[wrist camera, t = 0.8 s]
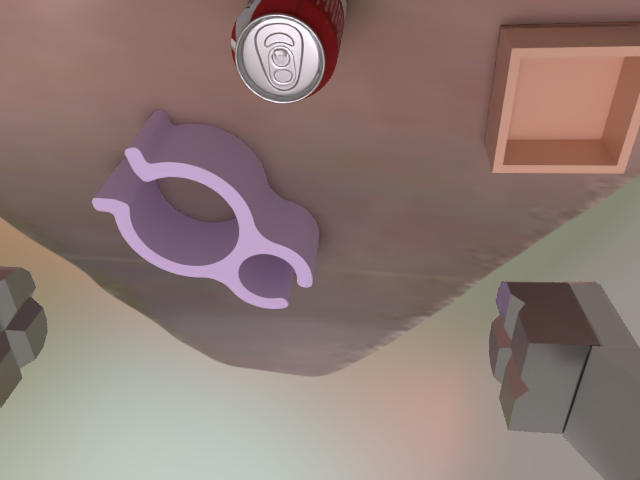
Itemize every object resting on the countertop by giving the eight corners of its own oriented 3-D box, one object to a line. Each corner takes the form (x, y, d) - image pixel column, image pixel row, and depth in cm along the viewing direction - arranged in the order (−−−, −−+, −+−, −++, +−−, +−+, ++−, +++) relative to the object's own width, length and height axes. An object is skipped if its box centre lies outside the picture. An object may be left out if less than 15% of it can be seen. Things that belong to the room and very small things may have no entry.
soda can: (345, -48, 41) (332, -1, 31) (349, 45, 45) (338, 111, 35) (254, -43, 42) (214, 5, 32) (266, 48, 46) (234, 114, 36)
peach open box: (500, 25, 43) (512, 48, 39) (639, 22, 42) (665, 45, 38) (484, 142, 49) (492, 172, 45) (604, 142, 48) (624, 173, 44)
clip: (345, 214, 55) (340, 260, 50) (272, 282, 62) (261, 328, 57) (169, 88, 49) (142, 124, 43) (109, 178, 55) (79, 220, 50)
